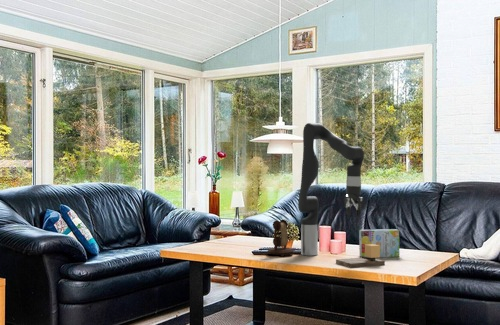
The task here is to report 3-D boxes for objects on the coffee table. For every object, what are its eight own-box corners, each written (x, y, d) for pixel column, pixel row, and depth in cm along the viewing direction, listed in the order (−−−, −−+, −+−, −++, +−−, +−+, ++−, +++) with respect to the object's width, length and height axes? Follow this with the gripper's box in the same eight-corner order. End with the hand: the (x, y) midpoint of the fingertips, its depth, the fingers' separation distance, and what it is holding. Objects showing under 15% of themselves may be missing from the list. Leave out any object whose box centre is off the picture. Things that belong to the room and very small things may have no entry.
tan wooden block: (364, 256, 282) (364, 244, 282) (373, 255, 284) (373, 244, 285) (371, 257, 277) (371, 245, 277) (380, 257, 279) (379, 245, 280)
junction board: (336, 263, 284) (335, 245, 284) (368, 260, 292) (368, 243, 292) (350, 267, 271) (350, 249, 271) (384, 264, 279) (384, 247, 279)
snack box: (396, 255, 310) (396, 228, 310) (399, 257, 304) (399, 229, 304) (359, 256, 309) (359, 229, 309) (361, 257, 303) (361, 230, 303)
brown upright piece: (284, 258, 303) (283, 221, 303) (262, 255, 312) (262, 220, 312) (298, 254, 314) (298, 219, 315) (277, 252, 323) (276, 218, 324)
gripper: (339, 184, 291) (339, 215, 291) (355, 186, 278) (355, 218, 278) (351, 184, 294) (351, 214, 294) (367, 185, 281) (367, 217, 281)
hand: (353, 216), depth 286 cm, fingers open, 8 cm apart
